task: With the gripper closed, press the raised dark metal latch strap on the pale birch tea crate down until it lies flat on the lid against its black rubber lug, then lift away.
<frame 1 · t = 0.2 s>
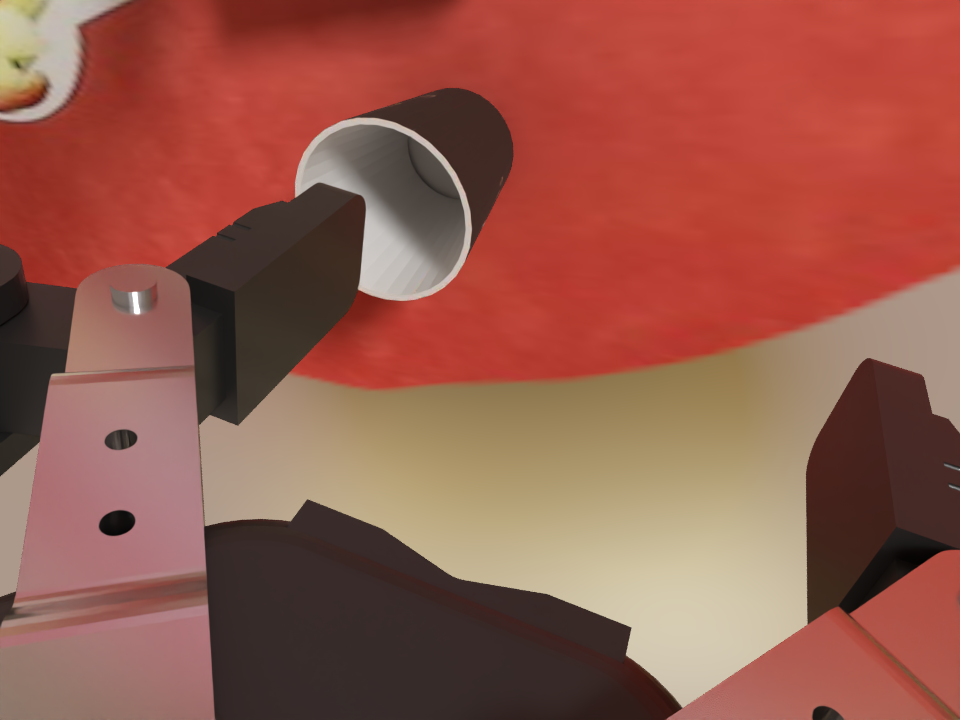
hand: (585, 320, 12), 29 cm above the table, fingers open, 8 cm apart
coffee mug: (435, 152, 43), on the table
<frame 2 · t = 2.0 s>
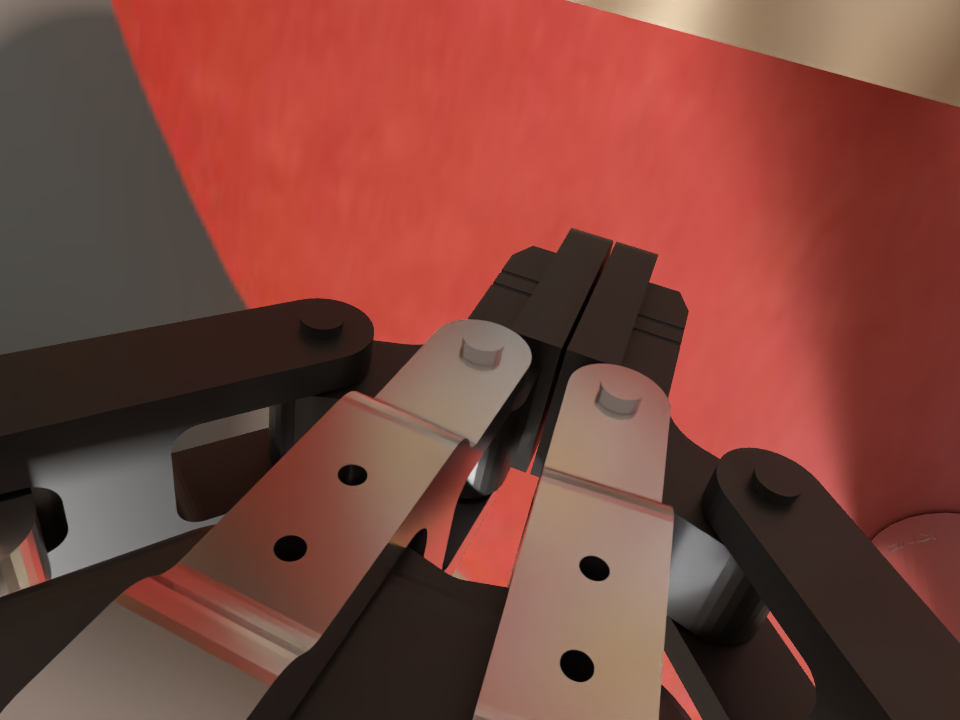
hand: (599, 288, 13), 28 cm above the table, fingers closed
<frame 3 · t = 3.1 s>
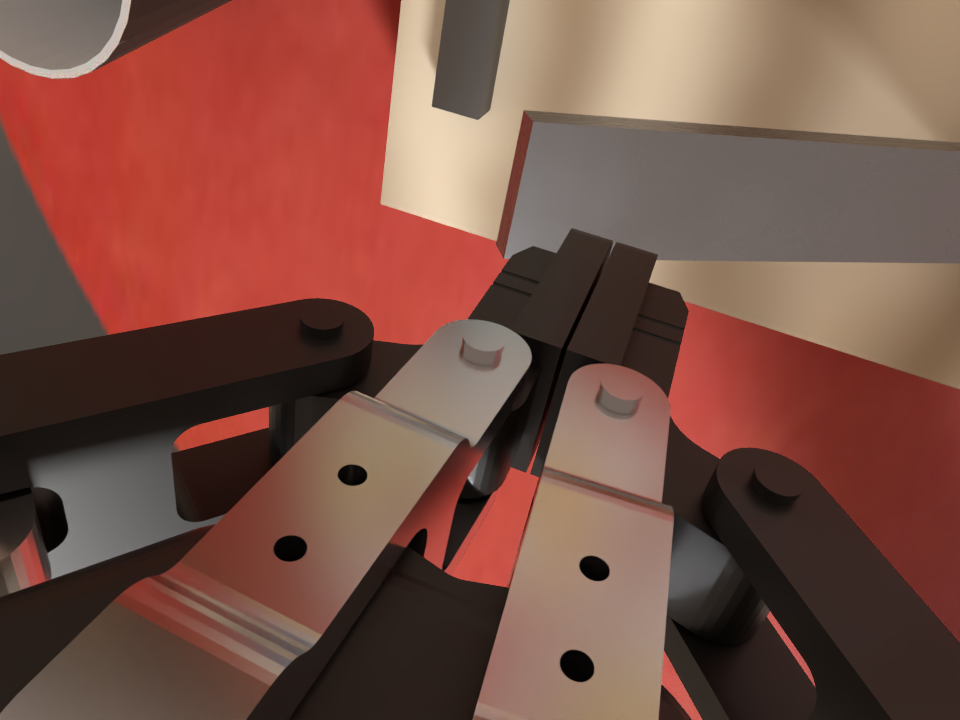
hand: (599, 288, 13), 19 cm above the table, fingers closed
latch strap: (829, 200, 18), point 11 cm above the table, hinge at 35.0°
tea crate: (776, 75, 28), on the table
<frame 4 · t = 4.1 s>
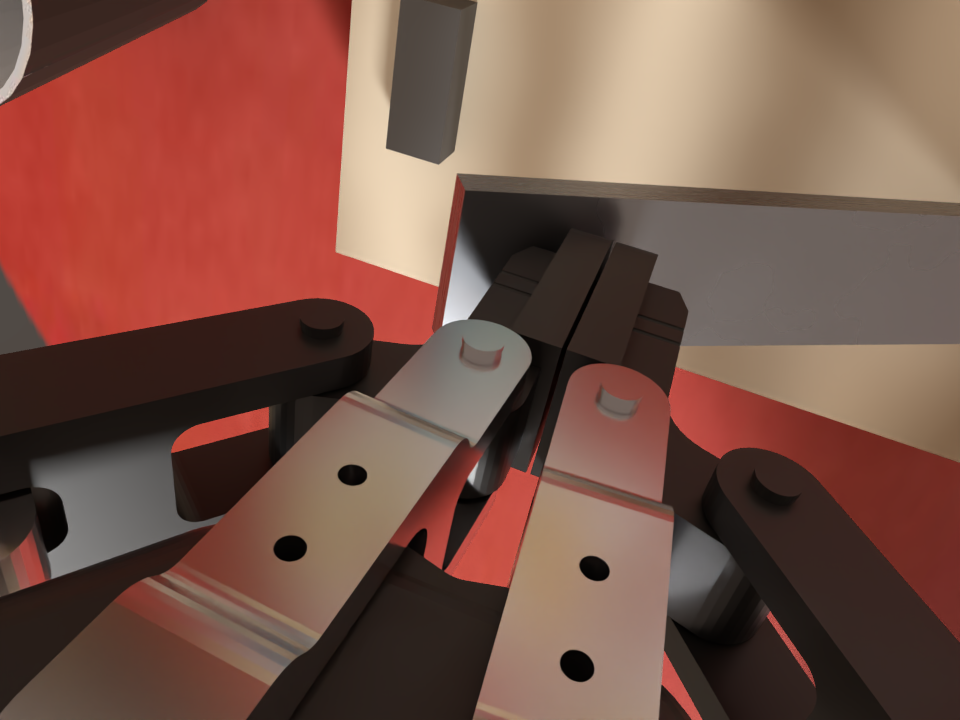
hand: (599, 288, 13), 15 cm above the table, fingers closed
latch strap: (843, 274, 15), point 11 cm above the table, hinge at 33.3°, touching gripper
tea crate: (784, 107, 24), on the table
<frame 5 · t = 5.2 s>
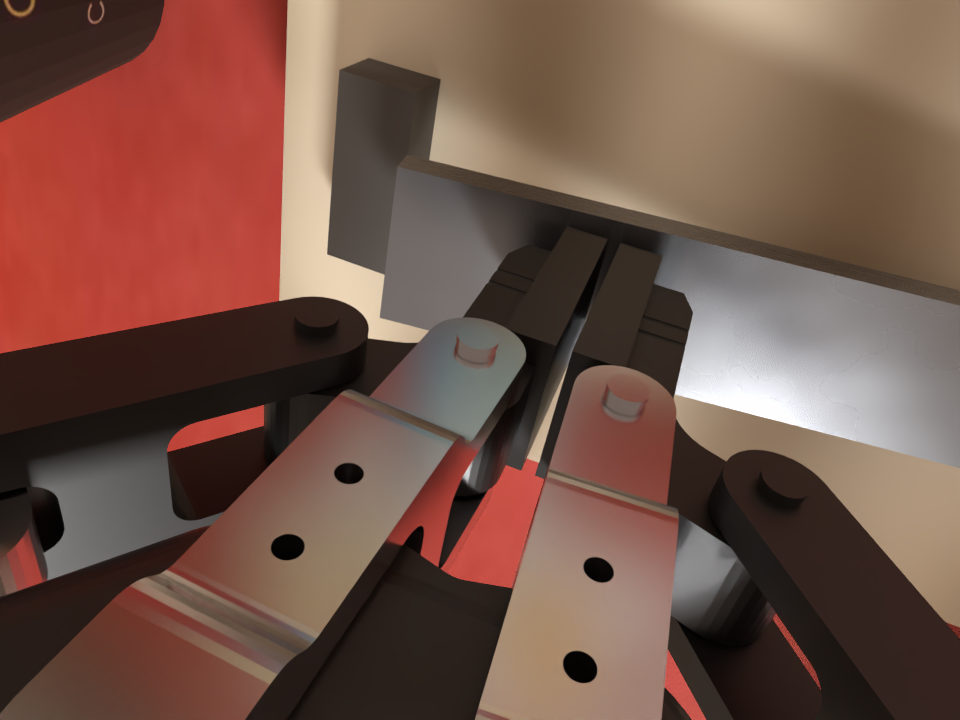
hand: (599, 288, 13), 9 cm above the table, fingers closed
latch strap: (836, 352, 13), point 8 cm above the table, hinge at 9.6°, touching gripper
tea crate: (827, 199, 20), on the table
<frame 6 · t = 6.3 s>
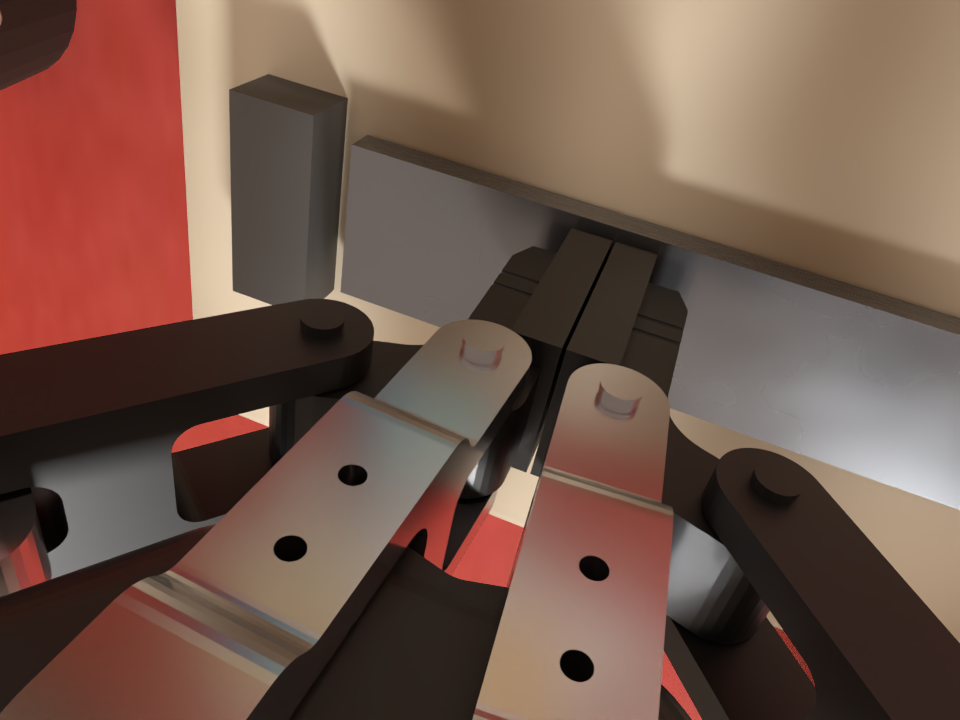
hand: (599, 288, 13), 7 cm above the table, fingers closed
latch strap: (781, 358, 13), point 6 cm above the table, hinge at 0.1°, touching gripper
tea crate: (789, 219, 18), on the table
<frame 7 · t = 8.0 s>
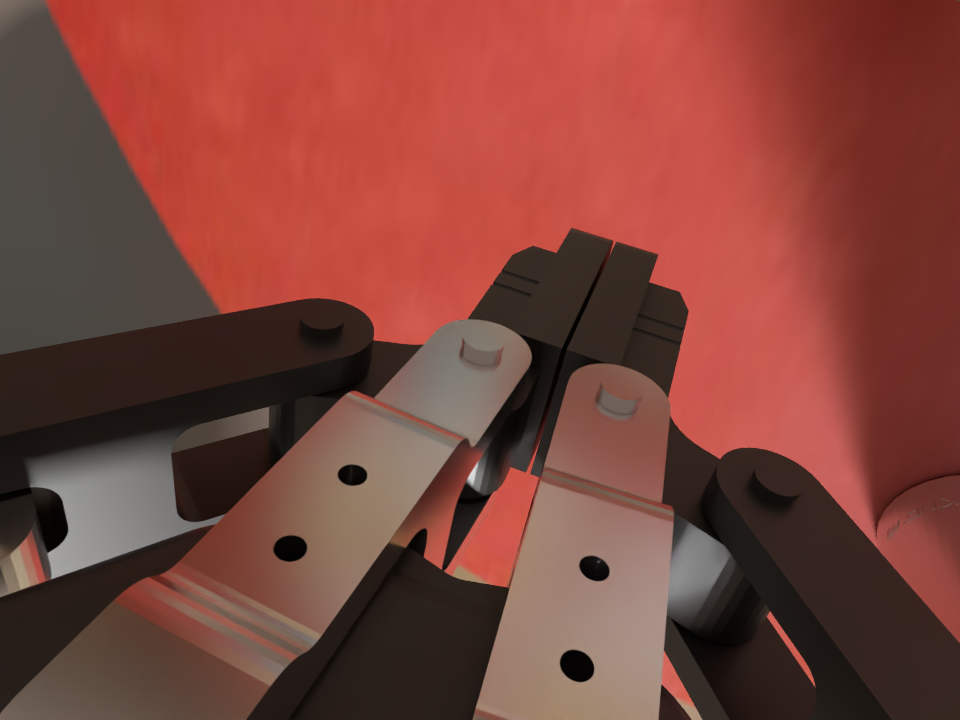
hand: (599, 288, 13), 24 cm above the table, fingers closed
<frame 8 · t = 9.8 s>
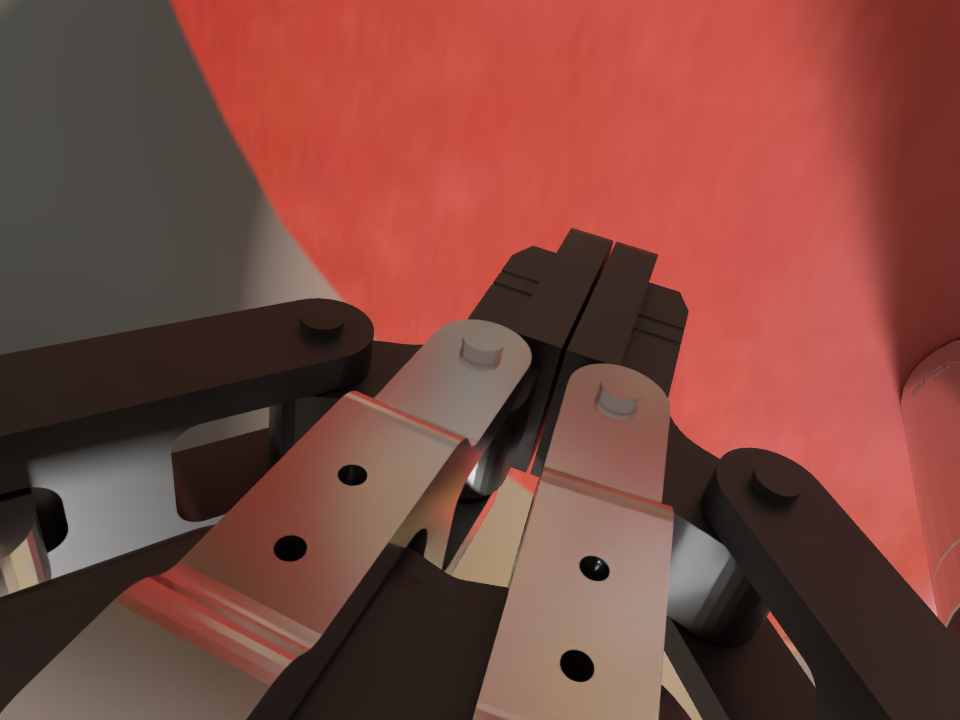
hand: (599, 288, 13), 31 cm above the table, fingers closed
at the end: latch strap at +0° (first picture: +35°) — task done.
